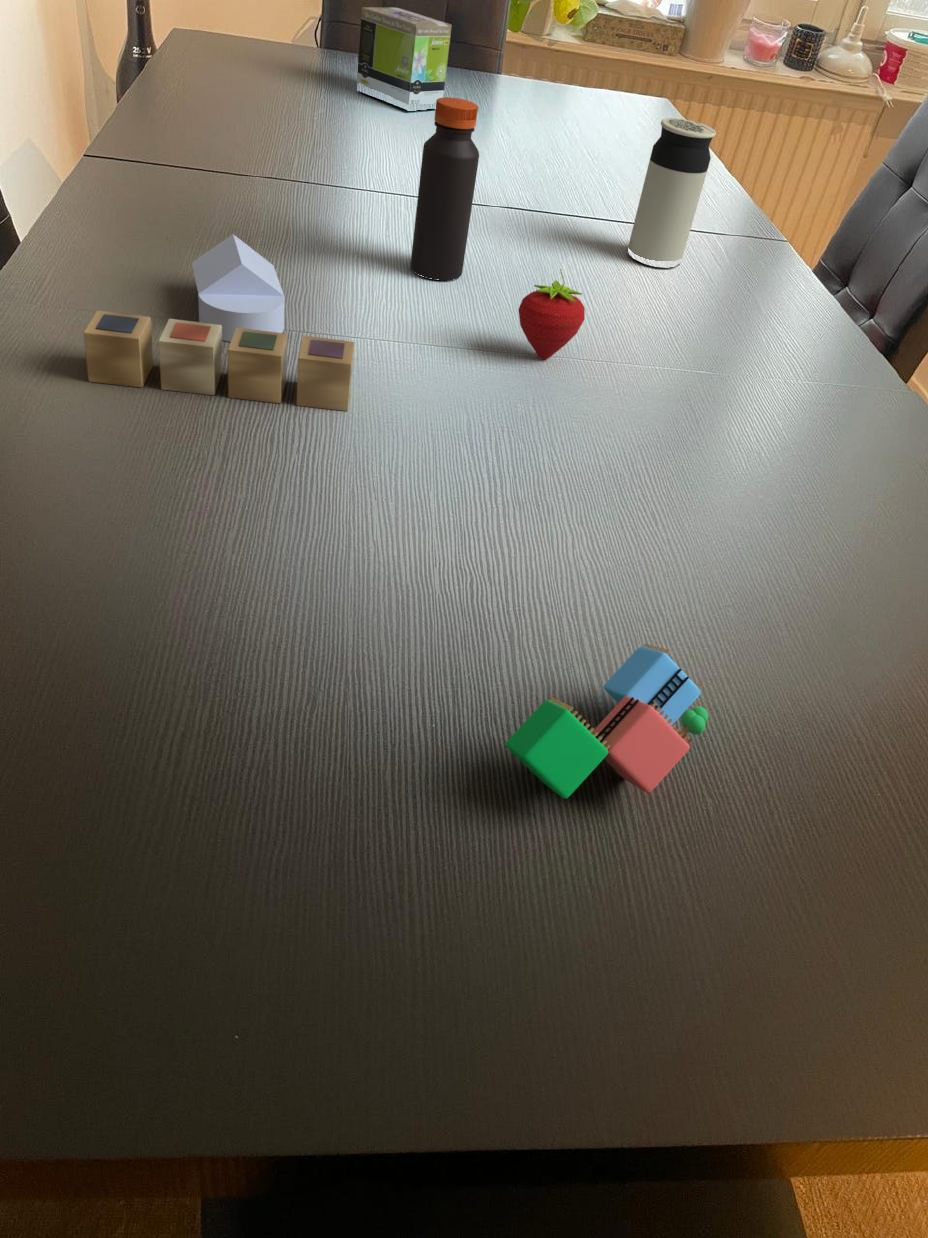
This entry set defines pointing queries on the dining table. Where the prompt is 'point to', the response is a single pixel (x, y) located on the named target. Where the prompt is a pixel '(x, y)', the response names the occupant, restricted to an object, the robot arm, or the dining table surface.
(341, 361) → the beech block
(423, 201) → the bottle
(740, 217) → the dining table surface
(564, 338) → the strawberry
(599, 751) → the building blocks
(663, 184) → the travel mug
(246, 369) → the beech block
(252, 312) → the wedge on round base
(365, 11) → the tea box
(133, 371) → the beech block
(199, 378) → the maple block
